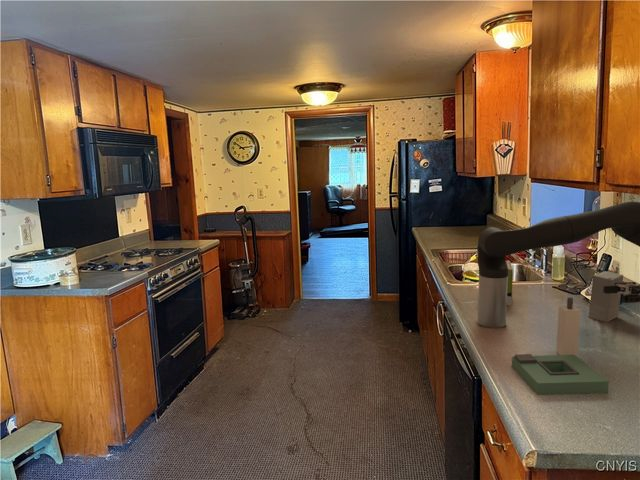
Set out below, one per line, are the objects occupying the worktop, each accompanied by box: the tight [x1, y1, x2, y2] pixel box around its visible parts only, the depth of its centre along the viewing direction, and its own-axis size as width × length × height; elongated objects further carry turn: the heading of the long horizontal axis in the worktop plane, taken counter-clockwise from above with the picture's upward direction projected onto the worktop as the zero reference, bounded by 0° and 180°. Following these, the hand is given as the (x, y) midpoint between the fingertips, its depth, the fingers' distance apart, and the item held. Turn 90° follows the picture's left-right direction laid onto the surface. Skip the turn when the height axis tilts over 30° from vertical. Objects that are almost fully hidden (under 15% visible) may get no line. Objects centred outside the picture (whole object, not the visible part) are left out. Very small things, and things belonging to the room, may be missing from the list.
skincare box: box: [588, 270, 624, 323], centre depth 155 cm, size 8×7×16 cm
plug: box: [555, 296, 582, 357], centre depth 128 cm, size 4×4×17 cm
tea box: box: [506, 260, 514, 306], centre depth 180 cm, size 15×10×15 cm
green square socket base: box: [511, 353, 610, 396], centre depth 116 cm, size 15×17×4 cm
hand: (613, 294), depth 126 cm, fingers open, 8 cm apart
